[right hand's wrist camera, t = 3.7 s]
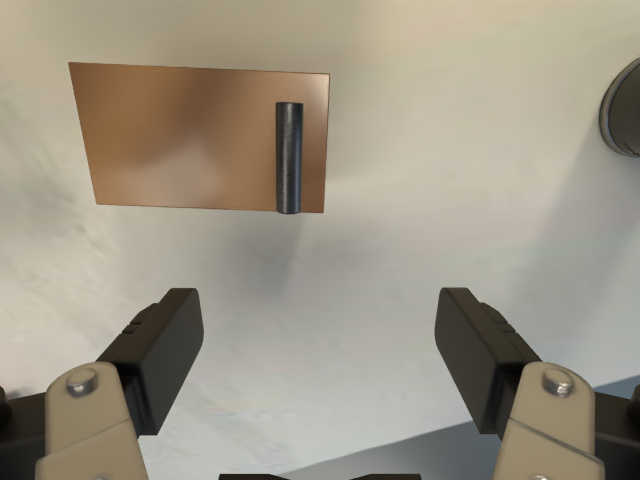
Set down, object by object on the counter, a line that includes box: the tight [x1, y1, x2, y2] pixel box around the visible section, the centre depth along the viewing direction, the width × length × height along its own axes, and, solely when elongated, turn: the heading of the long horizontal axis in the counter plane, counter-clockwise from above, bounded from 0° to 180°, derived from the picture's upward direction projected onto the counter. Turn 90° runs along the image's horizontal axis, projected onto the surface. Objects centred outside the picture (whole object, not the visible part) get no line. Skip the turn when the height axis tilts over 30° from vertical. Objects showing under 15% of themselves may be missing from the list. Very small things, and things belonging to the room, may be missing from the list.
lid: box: [68, 62, 330, 214], centre depth 21 cm, size 17×9×8 cm, turn 88°
